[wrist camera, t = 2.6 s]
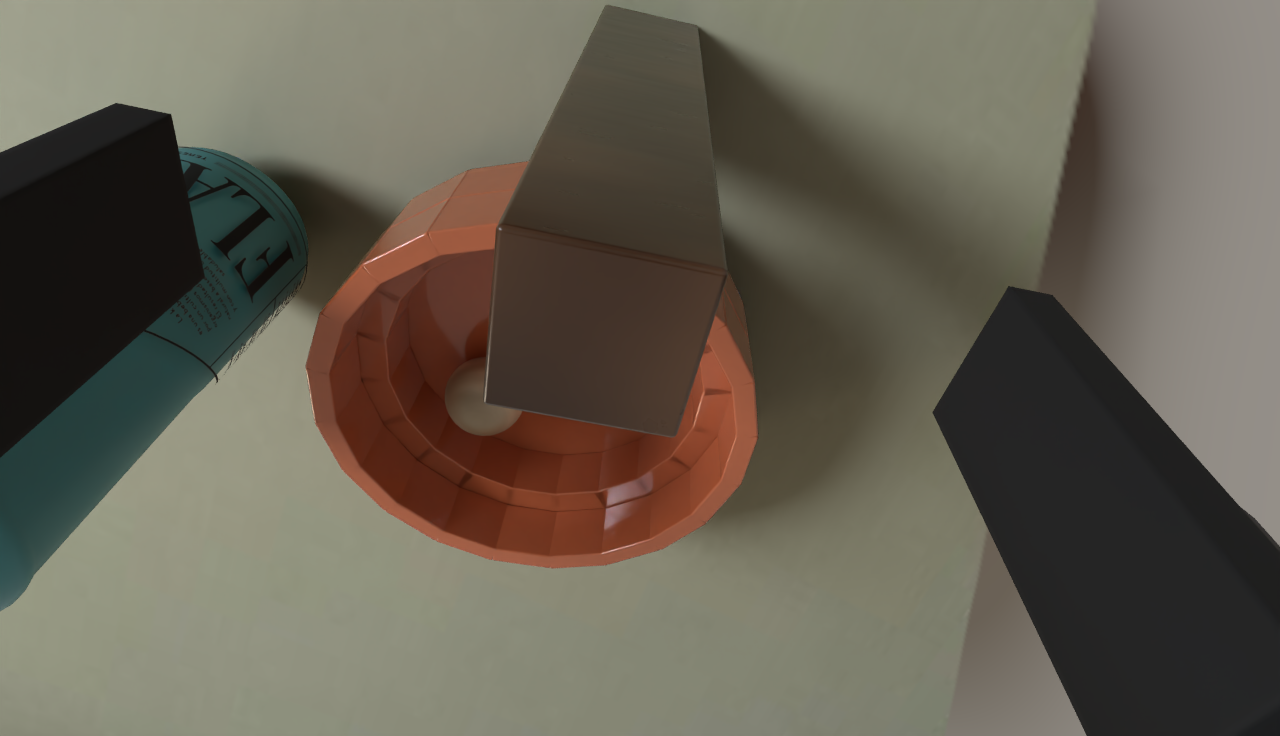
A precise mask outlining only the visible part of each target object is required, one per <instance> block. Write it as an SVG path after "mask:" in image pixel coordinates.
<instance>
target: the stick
mask: <svg viewBox="0 0 1280 736" xmlns="http://www.w3.org/2000/svg"><path fill="white" fill-rule="evenodd" d="M727 276H728V271H727V263H726V255H725V247H724V238H723V230H722V222H721V214H720V205H719V197H718V189H717V181H716V173H715V164H714V156H713V148H712V140H711V131H710V123H709V115H708V107H707V98H706V90H705V82H704V74H703V66H702V57H701V49H700V41H699V33H698V27H697V26H696V25H692V24H688V23H684V22H679V21H675V20H671V19H666V18H662V17H658V16H654V15H649V14H645V13H641V12H636V11H632V10H628V9H623V8H619V7H615V6H611V5H606V6H605V7H604V9H603V11H602V13H601V15H600V17H599V20H598V22H597V24H596V26H595V28H594V30H593V32H592V34H591V36H590V38H589V40H588V42H587V44H586V46H585V48H584V50H583V52H582V54H581V56H580V58H579V60H578V62H577V64H576V66H575V68H574V70H573V72H572V75H571V77H570V79H569V81H568V83H567V85H566V87H565V89H564V91H563V93H562V95H561V97H560V99H559V101H558V103H557V105H556V107H555V109H554V111H553V113H552V115H551V117H550V119H549V121H548V123H547V125H546V127H545V130H544V132H543V134H542V136H541V138H540V140H539V142H538V144H537V146H536V148H535V150H534V152H533V154H532V156H531V158H530V160H529V162H528V164H527V166H526V168H525V170H524V172H523V174H522V176H521V178H520V180H519V182H518V185H517V187H516V189H515V191H514V193H513V195H512V197H511V199H510V201H509V203H508V205H507V207H506V209H505V211H504V213H503V215H502V217H501V219H500V221H499V223H498V225H497V227H496V235H495V248H494V260H493V273H492V286H491V298H490V311H489V324H488V337H487V349H486V362H485V375H484V387H483V401H484V403H485V404H487V405H492V406H498V407H503V408H509V409H514V410H520V411H526V412H531V413H537V414H542V415H548V416H553V417H559V418H565V419H570V420H576V421H581V422H587V423H592V424H598V425H604V426H609V427H615V428H620V429H626V430H631V431H637V432H643V433H648V434H654V435H659V436H665V437H670V438H671V437H675V436H676V435H677V433H678V430H679V427H680V424H681V421H682V418H683V415H684V411H685V408H686V405H687V402H688V399H689V396H690V393H691V389H692V386H693V383H694V380H695V377H696V374H697V371H698V367H699V364H700V361H701V358H702V355H703V352H704V349H705V346H706V342H707V339H708V336H709V333H710V330H711V327H712V324H713V320H714V317H715V314H716V311H717V308H718V305H719V302H720V298H721V295H722V292H723V289H724V286H725V283H726V280H727Z"/></svg>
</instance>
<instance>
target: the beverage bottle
mask: <svg viewBox="0 0 1280 736" xmlns="http://www.w3.org/2000/svg"><path fill="white" fill-rule="evenodd" d="M178 150H179V154H180V159H181V164H182V169H183V174H184V178H185V183H186V188H187V193H188V198H189V202H190V207H191V212H192V217H193V222H194V226H195V231H196V236H197V241H198V246H199V250H200V255H201V260H202V265H203V270H204V274H205V278H204V279H202V280H201V281H200V282H199V283H198V284H197V285H196V286H195V287H193V288H192V289H191V290H190V291H189V292H188V293H187V294H185V295H184V296H183V297H182V298H181V299H180V300H179V301H178V302H176V303H175V304H174V305H173V306H172V307H171V308H170V309H168V310H167V311H166V312H165V313H164V314H163V315H162V316H161V317H159V318H158V319H157V320H156V321H155V322H154V323H153V324H151V325H150V326H149V327H148V328H147V329H146V330H145V331H144V332H142V333H141V334H140V335H139V336H138V337H137V338H136V339H134V340H133V341H132V342H131V343H130V344H129V345H128V346H127V347H125V348H124V349H123V350H122V351H121V352H120V353H119V354H117V355H116V356H115V357H114V358H113V359H112V360H111V361H110V362H108V363H107V364H106V365H105V366H104V367H103V368H102V369H100V370H99V371H98V372H97V373H96V374H95V375H94V376H93V377H91V378H90V379H89V380H88V381H87V382H86V383H85V384H83V385H82V386H81V387H80V388H79V389H78V390H77V391H76V392H74V393H73V394H72V395H71V396H70V397H69V398H68V399H66V400H65V401H64V402H63V403H62V404H61V405H60V406H59V407H57V408H56V409H55V410H54V411H53V412H52V413H51V414H49V415H48V416H47V417H46V418H45V419H44V420H43V421H42V422H40V423H39V424H38V425H37V426H36V427H35V428H34V429H32V430H31V431H30V432H29V433H28V434H27V435H26V436H25V437H23V438H22V439H21V440H20V441H19V442H18V443H17V444H15V445H14V446H13V447H12V448H11V449H10V450H9V451H8V452H6V453H5V454H4V455H3V456H2V457H1V458H0V611H1V610H3V609H5V608H6V607H8V606H10V605H12V604H13V603H14V602H15V601H16V600H17V599H18V598H19V597H20V596H21V595H22V593H23V592H24V591H25V590H26V588H27V587H28V585H29V583H30V581H31V580H32V578H33V576H34V574H35V573H36V572H37V571H38V570H39V569H40V568H41V567H42V565H43V564H44V563H45V562H46V561H47V560H48V559H49V558H50V557H51V555H52V554H53V553H54V552H55V551H56V550H57V549H58V548H59V547H60V545H61V544H62V543H63V542H64V541H65V540H66V539H67V538H68V537H69V535H70V534H71V533H72V532H73V531H74V530H75V529H76V528H77V527H78V525H79V524H80V523H81V522H82V521H83V520H84V519H85V518H86V517H87V515H88V514H89V513H90V512H91V511H92V510H93V509H94V508H95V506H96V505H97V504H98V503H99V502H100V501H101V500H102V499H103V498H104V496H105V495H106V494H107V493H108V492H109V491H110V490H111V489H112V488H113V486H114V485H115V484H116V483H117V482H118V481H119V480H120V479H121V478H122V476H123V475H124V474H125V473H126V472H127V471H128V470H129V469H130V468H131V466H132V465H133V464H134V463H135V462H136V461H137V460H138V459H139V458H140V456H141V455H142V454H143V453H144V452H145V451H146V450H147V449H148V448H149V446H150V445H151V444H152V443H153V442H154V441H155V440H156V439H157V438H158V436H159V435H160V434H161V433H162V432H163V431H164V430H165V429H166V427H167V426H168V425H169V424H170V423H171V422H172V421H173V420H174V419H175V417H176V416H177V415H178V414H179V413H180V412H181V411H182V410H183V409H184V407H185V406H186V405H187V404H188V403H189V402H190V401H191V400H192V399H193V397H194V396H196V395H197V394H198V393H199V392H200V391H201V390H202V389H204V388H205V386H206V385H207V384H208V383H209V382H210V381H211V380H212V379H213V378H214V377H216V380H217V382H218V377H217V374H218V373H219V371H220V370H221V369H222V368H223V367H224V366H225V365H226V364H227V363H228V362H229V361H230V359H231V358H232V357H233V356H234V355H235V354H236V353H237V352H238V351H239V350H242V348H241V347H242V346H243V345H244V344H245V343H246V342H247V341H248V340H249V339H250V338H251V337H252V335H253V334H254V333H255V332H256V331H257V332H258V329H259V328H260V327H261V326H262V325H263V323H264V322H265V321H266V320H267V321H268V320H269V319H268V318H269V317H270V316H271V315H272V316H273V314H274V311H275V310H276V309H277V308H278V307H279V306H280V305H283V302H284V301H285V302H286V300H287V297H288V296H289V297H290V294H291V293H292V294H293V291H294V290H295V288H296V289H297V286H298V284H299V285H300V283H301V279H302V276H303V274H304V270H305V267H306V273H307V264H306V263H308V262H307V259H308V239H307V234H306V230H305V227H304V224H303V221H302V219H301V217H300V215H299V213H298V211H297V209H296V208H295V206H294V204H293V203H292V202H291V200H290V199H289V198H288V196H287V195H286V194H285V193H284V192H283V191H282V189H281V188H280V187H279V186H278V185H277V184H276V183H275V182H273V181H272V180H271V179H270V178H269V177H268V176H266V175H265V174H264V173H262V172H261V171H260V170H258V169H257V168H255V167H254V166H252V165H250V164H249V163H247V162H245V161H243V160H241V159H239V158H237V157H235V156H232V155H229V154H227V153H224V152H220V151H217V150H213V149H207V148H196V147H190V148H189V147H180V148H178ZM305 277H306V274H305ZM304 280H305V278H304ZM303 283H304V282H303ZM302 285H303V284H302ZM301 287H302V286H301ZM298 289H299V288H298ZM298 289H297V291H298ZM300 289H301V288H300ZM297 291H296V293H297ZM298 292H299V291H298ZM296 293H294V294H296ZM294 294H293V296H294ZM291 296H292V295H291ZM293 296H292V297H293ZM295 296H296V295H295ZM295 296H294V297H295ZM289 297H288V299H289ZM294 297H293V298H294ZM290 298H291V297H290ZM293 298H292V299H293ZM292 299H291V300H292ZM291 300H289V301H291ZM289 301H287V302H289ZM285 302H284V304H285ZM287 302H286V304H288V303H287ZM286 304H285V305H286ZM281 307H282V306H281ZM281 307H280V308H281ZM283 307H284V306H283ZM284 308H285V307H284ZM278 310H279V308H278V309H277V312H278ZM282 310H283V309H282ZM282 310H281V311H282ZM277 312H276V314H277ZM279 313H280V312H279ZM276 314H275V316H278V314H277V315H276ZM274 318H275V317H274ZM271 319H272V317H271ZM270 321H271V320H270ZM272 321H273V320H272ZM269 323H270V322H269ZM264 324H265V323H264ZM266 324H267V323H266ZM266 324H265V325H266ZM267 326H268V325H267ZM263 327H264V326H263ZM263 327H262V328H263ZM264 328H265V327H264ZM260 329H261V328H260ZM265 329H266V328H265ZM259 331H260V330H259ZM263 331H264V330H263ZM257 332H256V333H257ZM256 333H255V335H256ZM260 333H262V329H261V331H260ZM253 336H254V335H253ZM258 336H259V335H258ZM252 338H253V337H252ZM253 339H254V338H253ZM251 341H252V339H251ZM251 341H250V343H251ZM253 341H255V340H253ZM253 341H252V342H253ZM250 343H249V345H250ZM246 347H247V346H246ZM243 348H245V347H243ZM247 348H248V347H247ZM245 351H246V350H245ZM245 351H244V352H245ZM239 352H240V351H239ZM242 352H243V351H242ZM241 354H242V353H241ZM241 354H240V355H241ZM237 357H239V354H238V356H237ZM235 358H236V357H235ZM232 359H233V358H232ZM234 360H235V359H234ZM236 361H237V360H236ZM236 361H235V362H236ZM235 362H234V363H235ZM231 363H232V361H231ZM231 363H230V365H231ZM234 363H233V364H234ZM228 369H229V368H228ZM226 372H227V371H226ZM226 372H225V373H226ZM217 382H216V383H217Z"/></svg>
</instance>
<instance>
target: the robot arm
mask: <svg viewBox="0 0 1280 736" xmlns="http://www.w3.org/2000/svg"><path fill="white" fill-rule="evenodd" d="M204 278H205V274H204V270H203V265H202V260H201V255H200V250H199V246H198V241H197V236H196V231H195V226H194V222H193V217H192V212H191V207H190V202H189V198H188V193H187V188H186V183H185V178H184V174H183V169H182V164H181V159H180V154H179V150H178V145H177V140H176V135H175V130H174V126H173V121H172V116H171V114H167V113H162V112H157V111H153V110H148V109H143V108H138V107H133V106H128V105H123V104H118V103H115V104H113V105H110V106H108V107H106V108H103V109H101V110H99V111H96V112H94V113H92V114H89V115H87V116H85V117H82V118H80V119H78V120H75V121H73V122H71V123H68V124H66V125H64V126H61V127H59V128H57V129H54V130H52V131H50V132H47V133H45V134H43V135H40V136H38V137H36V138H33V139H31V140H29V141H26V142H24V143H22V144H19V145H17V146H15V147H12V148H10V149H8V150H5V151H3V152H0V458H1V457H2V456H3V455H4V454H5V453H6V452H8V451H9V450H10V449H11V448H12V447H13V446H14V445H15V444H17V443H18V442H19V441H20V440H21V439H22V438H23V437H25V436H26V435H27V434H28V433H29V432H30V431H31V430H32V429H34V428H35V427H36V426H37V425H38V424H39V423H40V422H42V421H43V420H44V419H45V418H46V417H47V416H48V415H49V414H51V413H52V412H53V411H54V410H55V409H56V408H57V407H59V406H60V405H61V404H62V403H63V402H64V401H65V400H66V399H68V398H69V397H70V396H71V395H72V394H73V393H74V392H76V391H77V390H78V389H79V388H80V387H81V386H82V385H83V384H85V383H86V382H87V381H88V380H89V379H90V378H91V377H93V376H94V375H95V374H96V373H97V372H98V371H99V370H100V369H102V368H103V367H104V366H105V365H106V364H107V363H108V362H110V361H111V360H112V359H113V358H114V357H115V356H116V355H117V354H119V353H120V352H121V351H122V350H123V349H124V348H125V347H127V346H128V345H129V344H130V343H131V342H132V341H133V340H134V339H136V338H137V337H138V336H139V335H140V334H141V333H142V332H144V331H145V330H146V329H147V328H148V327H149V326H150V325H151V324H153V323H154V322H155V321H156V320H157V319H158V318H159V317H161V316H162V315H163V314H164V313H165V312H166V311H167V310H168V309H170V308H171V307H172V306H173V305H174V304H175V303H176V302H178V301H179V300H180V299H181V298H182V297H183V296H184V295H185V294H187V293H188V292H189V291H190V290H191V289H192V288H193V287H195V286H196V285H197V284H198V283H199V282H200V281H201V280H202V279H204ZM933 414H934V416H935V419H936V421H937V423H938V425H939V427H940V429H941V431H942V433H943V435H944V437H945V439H946V442H947V444H948V446H949V448H950V450H951V452H952V454H953V456H954V458H955V460H956V463H957V465H958V467H959V469H960V471H961V473H962V475H963V477H964V479H965V481H966V483H967V486H968V488H969V490H970V492H971V494H972V496H973V498H974V500H975V502H976V504H977V507H978V509H979V511H980V513H981V515H982V517H983V519H984V521H985V523H986V525H987V527H988V530H989V532H990V534H991V536H992V538H993V540H994V542H995V544H996V546H997V548H998V550H999V552H1000V555H1001V557H1002V559H1003V561H1004V563H1005V565H1006V567H1007V569H1008V571H1009V574H1010V576H1011V577H1012V580H1013V582H1014V584H1015V586H1016V588H1017V590H1018V592H1019V594H1020V597H1021V599H1022V601H1023V603H1024V605H1025V607H1026V609H1027V611H1028V613H1029V615H1030V617H1031V620H1032V622H1033V624H1034V626H1035V628H1036V630H1037V632H1038V634H1039V636H1040V638H1041V641H1042V643H1043V645H1044V647H1045V649H1046V651H1047V653H1048V655H1049V657H1050V659H1051V661H1052V664H1053V666H1054V668H1055V670H1056V672H1057V674H1058V676H1059V678H1060V680H1061V683H1062V685H1063V686H1064V689H1065V691H1066V693H1067V695H1068V697H1069V699H1070V701H1071V703H1072V706H1073V708H1074V710H1075V712H1076V714H1077V716H1078V718H1079V720H1080V722H1081V724H1082V727H1083V729H1084V731H1085V733H1086V735H1087V736H1280V547H1279V545H1278V544H1277V543H1276V542H1275V541H1274V540H1273V538H1272V537H1271V536H1270V535H1269V534H1268V533H1267V532H1266V531H1265V529H1264V528H1263V527H1262V526H1261V525H1260V524H1259V523H1258V522H1257V520H1255V518H1253V517H1252V516H1251V515H1250V514H1248V513H1247V512H1246V511H1245V510H1243V509H1242V508H1241V507H1240V506H1239V505H1238V504H1237V503H1236V502H1235V501H1234V500H1233V498H1232V497H1231V496H1230V495H1229V494H1228V493H1227V492H1226V491H1225V489H1224V488H1223V487H1222V486H1221V485H1220V484H1219V483H1218V482H1217V481H1216V479H1215V478H1214V477H1213V476H1212V475H1211V474H1210V472H1209V471H1208V470H1207V469H1206V468H1205V467H1204V466H1203V465H1202V464H1201V462H1200V461H1199V460H1198V459H1197V458H1196V457H1195V456H1194V455H1193V454H1192V452H1191V451H1190V450H1189V449H1188V448H1187V447H1186V445H1185V444H1184V443H1183V442H1182V441H1181V440H1180V439H1179V438H1178V437H1177V435H1176V434H1175V433H1174V432H1173V431H1172V430H1171V428H1169V426H1168V425H1167V424H1166V423H1165V422H1164V421H1163V420H1162V418H1161V417H1160V416H1159V415H1158V414H1157V413H1156V412H1155V410H1154V409H1153V408H1152V407H1151V406H1150V405H1149V404H1148V403H1147V401H1146V400H1145V399H1144V398H1143V397H1142V396H1141V395H1140V394H1139V392H1138V391H1137V390H1136V389H1135V388H1134V387H1133V386H1132V384H1131V383H1130V382H1129V381H1128V380H1127V379H1126V378H1125V377H1124V376H1123V374H1122V373H1121V372H1120V371H1119V370H1118V369H1117V368H1116V366H1115V365H1114V364H1113V363H1112V362H1111V361H1110V360H1109V359H1108V358H1107V356H1106V355H1105V354H1104V353H1103V352H1102V351H1101V350H1100V348H1099V347H1098V346H1097V345H1096V344H1095V343H1094V342H1093V340H1092V339H1091V338H1090V337H1089V336H1088V335H1087V334H1086V333H1085V332H1084V330H1083V329H1082V328H1081V327H1080V326H1079V325H1078V324H1077V322H1076V321H1075V320H1074V319H1073V318H1072V317H1071V316H1070V315H1069V313H1068V312H1067V311H1066V310H1065V309H1064V308H1063V307H1062V305H1061V304H1060V303H1059V302H1058V301H1057V300H1056V299H1055V298H1054V297H1053V295H1049V294H1044V293H1040V292H1035V291H1030V290H1025V289H1020V288H1015V287H1010V286H1009V287H1008V288H1007V290H1006V292H1005V293H1004V295H1003V297H1002V298H1001V300H1000V302H999V303H998V305H997V306H996V308H995V310H994V311H993V313H992V315H991V316H990V318H989V320H988V321H987V323H986V325H985V326H984V328H983V330H982V331H981V333H980V335H979V336H978V338H977V340H976V341H975V343H974V344H973V346H972V348H971V349H970V351H969V353H968V354H967V356H966V358H965V359H964V361H963V363H962V364H961V366H960V368H959V369H958V371H957V373H956V374H955V376H954V378H953V379H952V381H951V382H950V384H949V386H948V387H947V389H946V391H945V392H944V394H943V396H942V397H941V399H940V401H939V402H938V404H937V406H936V407H935V409H934V411H933Z"/></svg>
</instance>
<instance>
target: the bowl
mask: <svg viewBox="0 0 1280 736" xmlns="http://www.w3.org/2000/svg"><path fill="white" fill-rule="evenodd" d="M528 162H529V161H527V162H520V163H512V164H505V165H498V166H490V167H483V168H476V169H470V170H467V171H465V172H463V173H461V174H459V175H457V176H455V177H453V178H451V179H449V180H448V181H446V182H444V183H442V184H440V185H438V186H436V187H434V188H432V189H430V190H428V191H426V192H424V193H422V194H420V195H419V196H417V197H415V198H413V199H412V200H411V201H410V202H409V203H408V204H407V206H406V207H405V208H404V209H403V210H402V211H401V213H400V214H399V215H398V216H397V217H396V218H395V220H394V221H393V222H392V223H391V224H390V225H389V227H388V228H387V229H386V230H385V231H384V232H383V234H382V235H381V236H380V237H379V238H378V239H377V241H376V242H375V243H374V244H373V246H372V247H371V248H370V249H369V251H368V252H367V253H366V254H365V256H364V257H363V258H362V259H361V261H360V262H359V263H358V265H357V266H356V267H355V268H354V270H353V271H352V272H351V273H350V275H349V276H348V277H347V279H346V280H345V281H344V282H343V284H342V285H341V286H340V287H339V289H338V290H337V291H336V292H335V294H334V295H333V296H332V298H331V299H330V300H329V301H328V303H327V304H326V305H325V306H324V308H323V309H322V311H321V312H320V314H319V317H318V321H317V325H316V328H315V332H314V336H313V340H312V343H311V347H310V351H309V354H308V358H307V362H306V366H305V367H306V374H307V380H308V386H309V392H310V398H311V404H312V410H313V416H314V421H315V424H316V426H317V427H318V429H319V431H320V433H321V434H322V436H323V438H324V440H325V441H326V443H327V445H328V446H329V448H330V450H331V452H332V453H333V455H334V457H335V459H336V460H337V462H338V464H339V466H340V467H341V469H342V470H343V471H344V472H345V473H346V474H347V475H348V476H349V477H350V478H351V479H352V480H353V481H354V482H355V483H356V484H357V485H358V486H359V487H360V488H361V489H362V490H363V491H364V492H365V493H366V494H367V495H369V496H370V497H371V498H372V499H373V500H374V501H375V502H376V503H377V504H378V505H379V506H380V507H381V508H382V509H383V510H386V512H387V513H389V514H391V515H393V516H394V517H396V518H398V519H399V520H401V521H403V522H404V523H406V524H408V525H409V526H411V527H413V528H415V529H416V530H418V531H420V532H421V533H423V534H425V535H426V536H428V537H430V538H431V539H433V540H436V541H437V542H440V543H443V544H446V545H449V546H451V547H454V548H457V549H460V550H463V551H466V552H469V553H472V554H475V555H478V556H481V557H484V558H486V559H489V560H492V559H493V560H495V561H502V562H509V563H516V564H524V565H531V566H538V567H545V568H567V567H585V566H602V565H607V564H612V563H616V562H619V561H623V560H626V559H630V558H634V557H637V556H641V555H644V554H648V553H651V552H655V551H658V550H660V549H661V550H662V549H664V548H665V547H667V546H669V545H670V544H672V543H674V542H676V541H677V540H679V539H681V538H682V537H684V536H686V535H687V534H689V533H691V532H693V531H694V530H696V529H698V528H699V527H701V526H703V525H705V524H706V522H708V521H709V520H710V518H711V517H712V516H713V515H714V514H715V513H716V512H717V511H718V509H719V508H720V507H721V506H722V505H723V504H724V503H725V502H726V501H727V499H728V498H729V497H730V496H731V495H732V494H733V493H734V492H735V490H736V489H737V488H738V487H739V485H741V483H742V481H743V478H744V475H745V472H746V470H747V467H748V464H749V462H750V459H751V456H752V453H753V451H754V448H755V445H756V443H757V440H758V418H757V403H756V387H755V378H754V371H753V364H752V358H751V351H750V344H749V337H748V330H747V324H746V317H745V310H744V304H743V301H742V299H741V297H740V295H739V293H738V291H737V288H736V286H735V284H734V282H733V280H732V278H731V276H730V274H729V272H728V276H727V280H726V283H725V286H724V289H723V292H722V295H721V298H720V302H719V305H718V308H717V311H716V314H715V317H714V320H713V324H712V327H711V330H710V333H709V336H708V339H707V342H706V346H705V349H704V352H703V355H702V358H701V361H700V364H699V367H698V371H697V374H696V377H695V380H694V383H693V386H692V389H691V393H690V396H689V399H688V402H687V405H686V408H685V411H684V415H683V418H682V421H681V424H680V427H679V430H678V433H677V435H676V436H675V437H671V438H670V437H665V436H659V435H654V434H648V433H643V432H637V431H631V430H626V429H620V428H615V427H609V426H604V425H598V424H592V423H587V422H581V421H576V420H570V419H565V418H559V417H553V416H548V415H542V414H537V413H531V412H526V411H522V413H521V415H520V417H519V418H518V420H517V421H516V422H515V423H514V424H513V425H512V426H511V427H510V428H508V429H507V430H505V431H503V432H501V433H498V434H495V435H490V436H479V435H474V434H471V433H468V432H466V431H464V430H463V429H461V428H460V427H459V426H458V425H456V424H455V423H454V421H453V420H452V419H451V417H450V415H449V414H448V411H447V409H446V405H445V389H446V385H447V382H448V380H449V378H450V376H451V375H452V373H453V372H454V371H455V370H456V369H457V368H458V367H459V366H460V365H462V364H463V363H465V362H467V361H469V360H471V359H474V358H479V357H486V349H487V337H488V324H489V311H490V298H491V286H492V273H493V260H494V248H495V235H496V227H497V225H498V223H499V221H500V219H501V217H502V215H503V213H504V211H505V209H506V207H507V205H508V203H509V201H510V199H511V197H512V195H513V193H514V191H515V189H516V187H517V185H518V182H519V180H520V178H521V176H522V174H523V172H524V170H525V168H526V166H527V164H528ZM727 271H728V269H727Z"/></svg>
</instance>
